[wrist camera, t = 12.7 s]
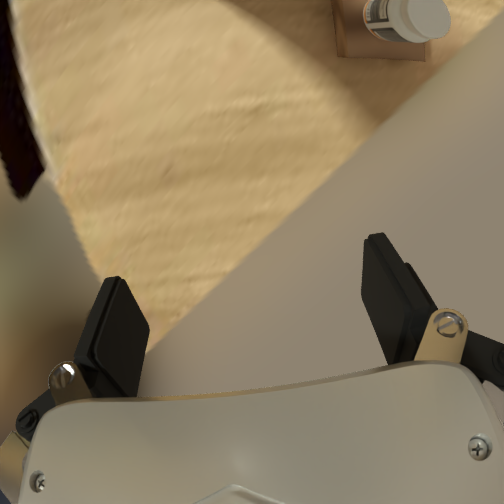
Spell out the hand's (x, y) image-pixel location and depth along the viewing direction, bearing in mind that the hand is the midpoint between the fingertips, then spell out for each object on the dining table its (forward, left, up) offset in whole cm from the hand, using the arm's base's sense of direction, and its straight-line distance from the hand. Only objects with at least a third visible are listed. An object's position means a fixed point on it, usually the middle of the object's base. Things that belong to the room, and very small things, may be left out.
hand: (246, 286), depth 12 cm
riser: (-12, +18, -30) cm, 37 cm away
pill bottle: (-12, +18, -26) cm, 34 cm away
